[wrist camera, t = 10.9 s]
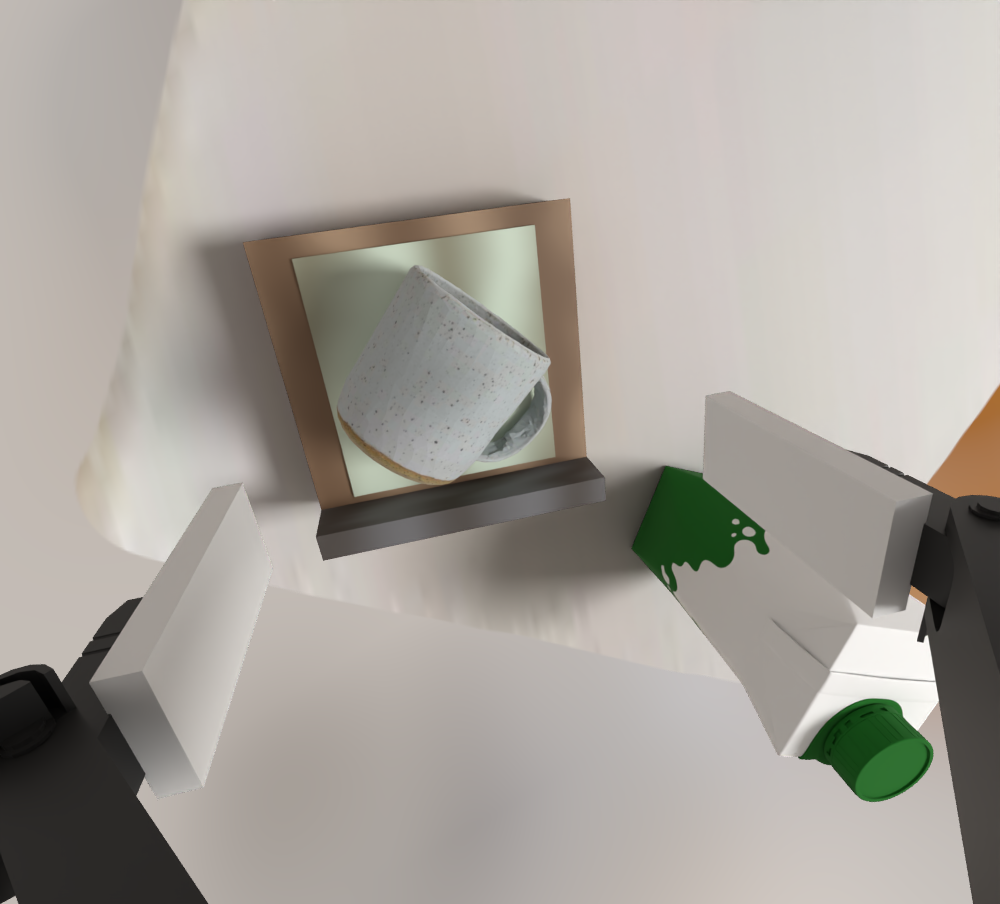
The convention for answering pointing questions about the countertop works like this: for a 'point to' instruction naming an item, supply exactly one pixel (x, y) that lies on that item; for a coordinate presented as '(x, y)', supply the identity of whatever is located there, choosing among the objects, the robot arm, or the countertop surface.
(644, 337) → the countertop surface
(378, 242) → the step
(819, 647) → the milk carton
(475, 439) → the ceramic mug
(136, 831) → the robot arm
